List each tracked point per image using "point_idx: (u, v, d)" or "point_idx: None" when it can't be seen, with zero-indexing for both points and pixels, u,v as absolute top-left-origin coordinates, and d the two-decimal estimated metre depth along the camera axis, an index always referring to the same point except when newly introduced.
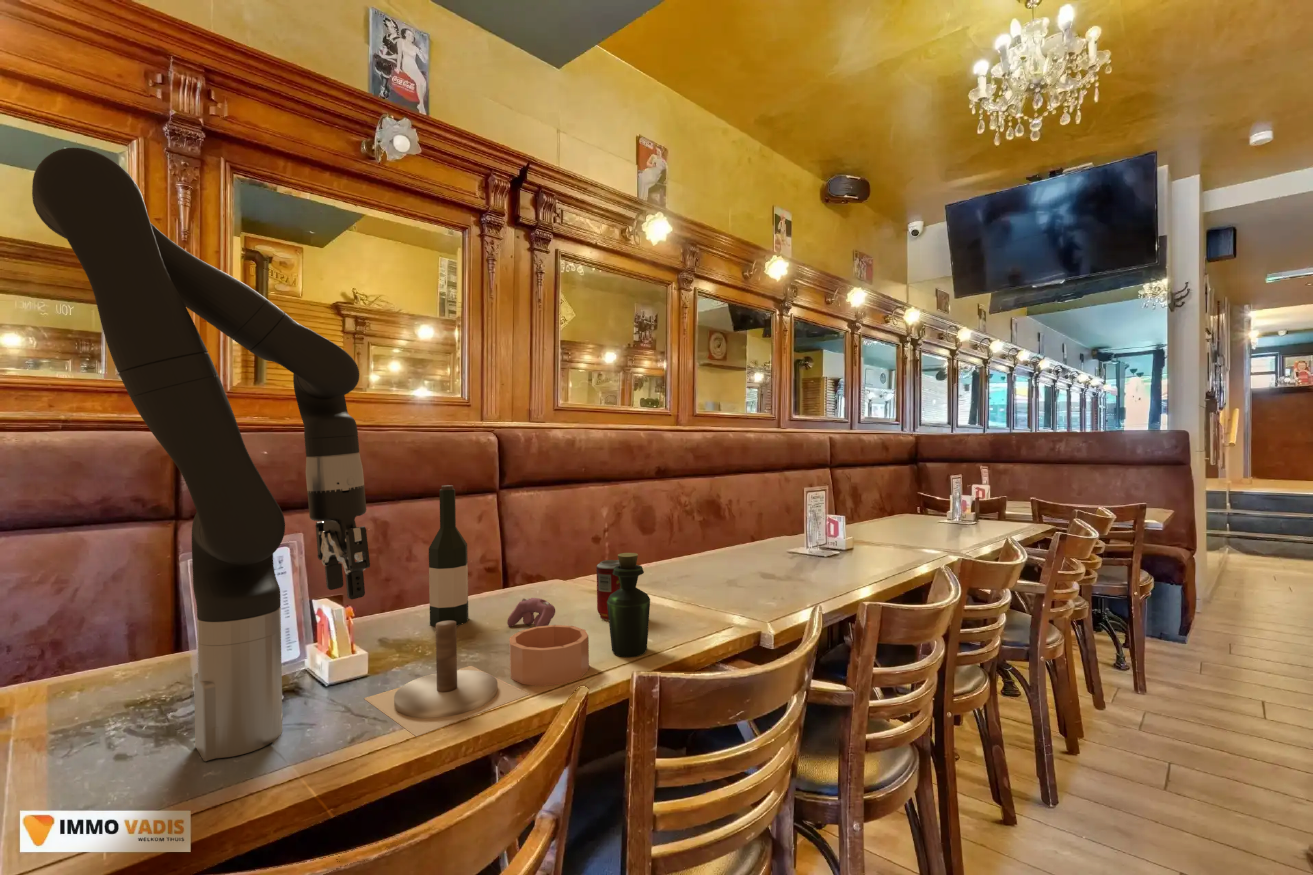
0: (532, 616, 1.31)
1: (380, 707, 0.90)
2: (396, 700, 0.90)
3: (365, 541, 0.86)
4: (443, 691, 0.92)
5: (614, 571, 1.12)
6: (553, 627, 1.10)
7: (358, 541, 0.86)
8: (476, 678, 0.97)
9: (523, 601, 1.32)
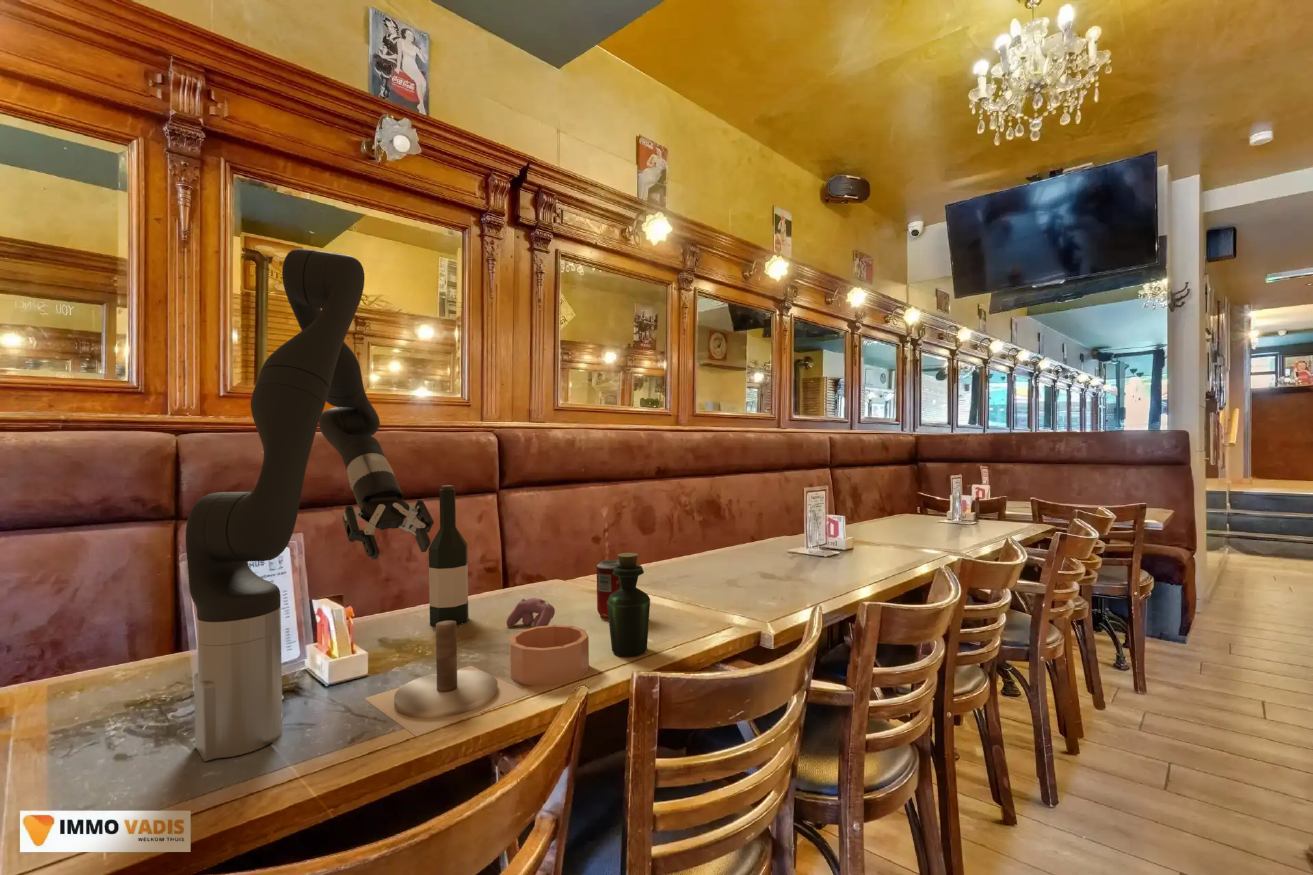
0: (531, 616, 1.31)
1: (380, 707, 0.90)
2: (396, 700, 0.90)
3: None
4: (443, 691, 0.92)
5: (614, 571, 1.12)
6: (553, 627, 1.10)
7: None
8: (476, 678, 0.97)
9: (522, 601, 1.31)
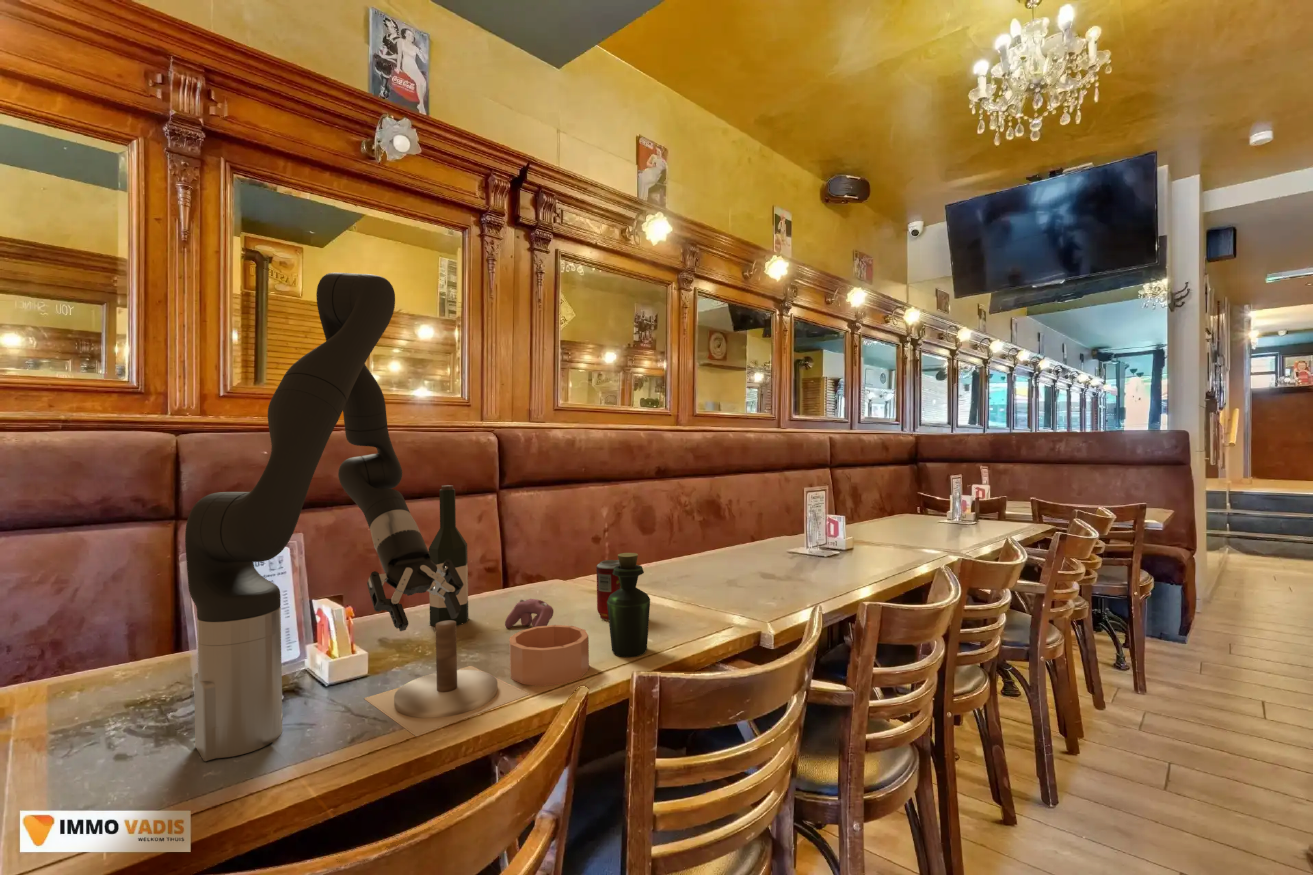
0: (530, 617, 1.30)
1: (380, 707, 0.90)
2: (396, 700, 0.90)
3: None
4: (443, 691, 0.92)
5: (614, 571, 1.12)
6: (553, 627, 1.10)
7: None
8: (476, 678, 0.97)
9: (521, 602, 1.31)
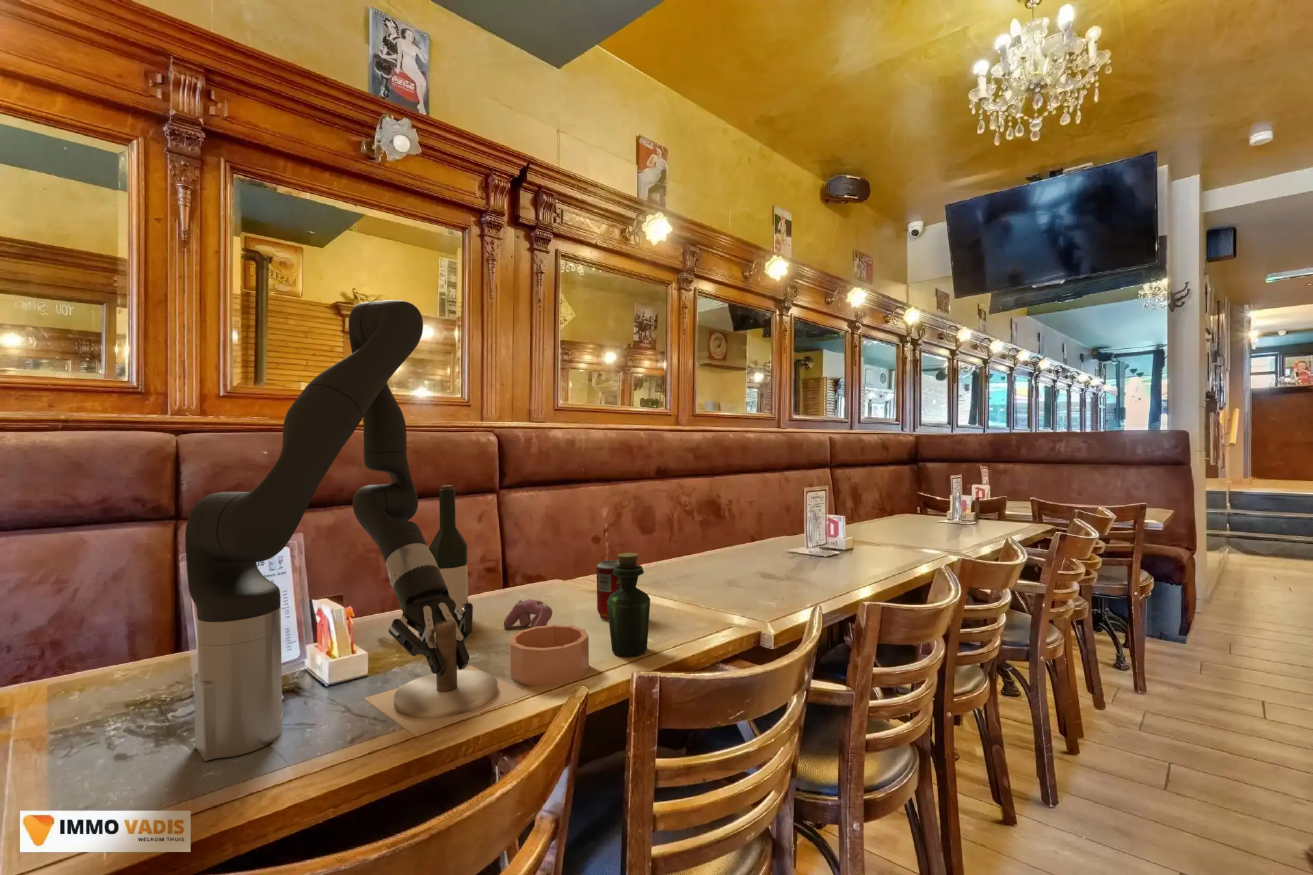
0: (529, 618, 1.30)
1: (380, 707, 0.90)
2: (396, 700, 0.89)
3: None
4: (443, 691, 0.92)
5: (614, 571, 1.12)
6: (553, 627, 1.10)
7: None
8: (476, 678, 0.97)
9: (519, 603, 1.30)
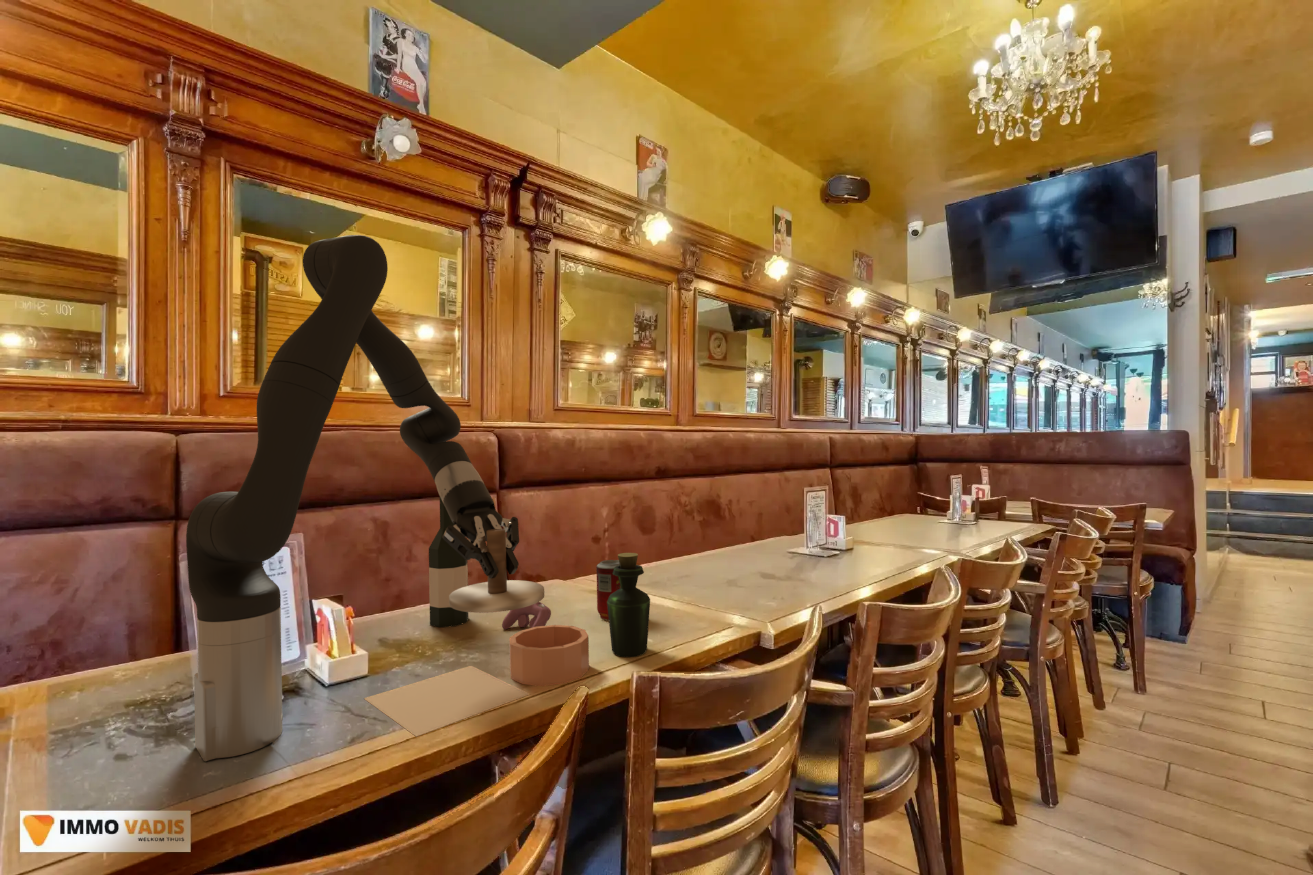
0: (527, 619, 1.29)
1: (380, 707, 0.90)
2: (452, 599, 0.95)
3: None
4: (495, 593, 0.98)
5: (614, 571, 1.12)
6: (553, 627, 1.10)
7: None
8: (523, 585, 1.03)
9: None
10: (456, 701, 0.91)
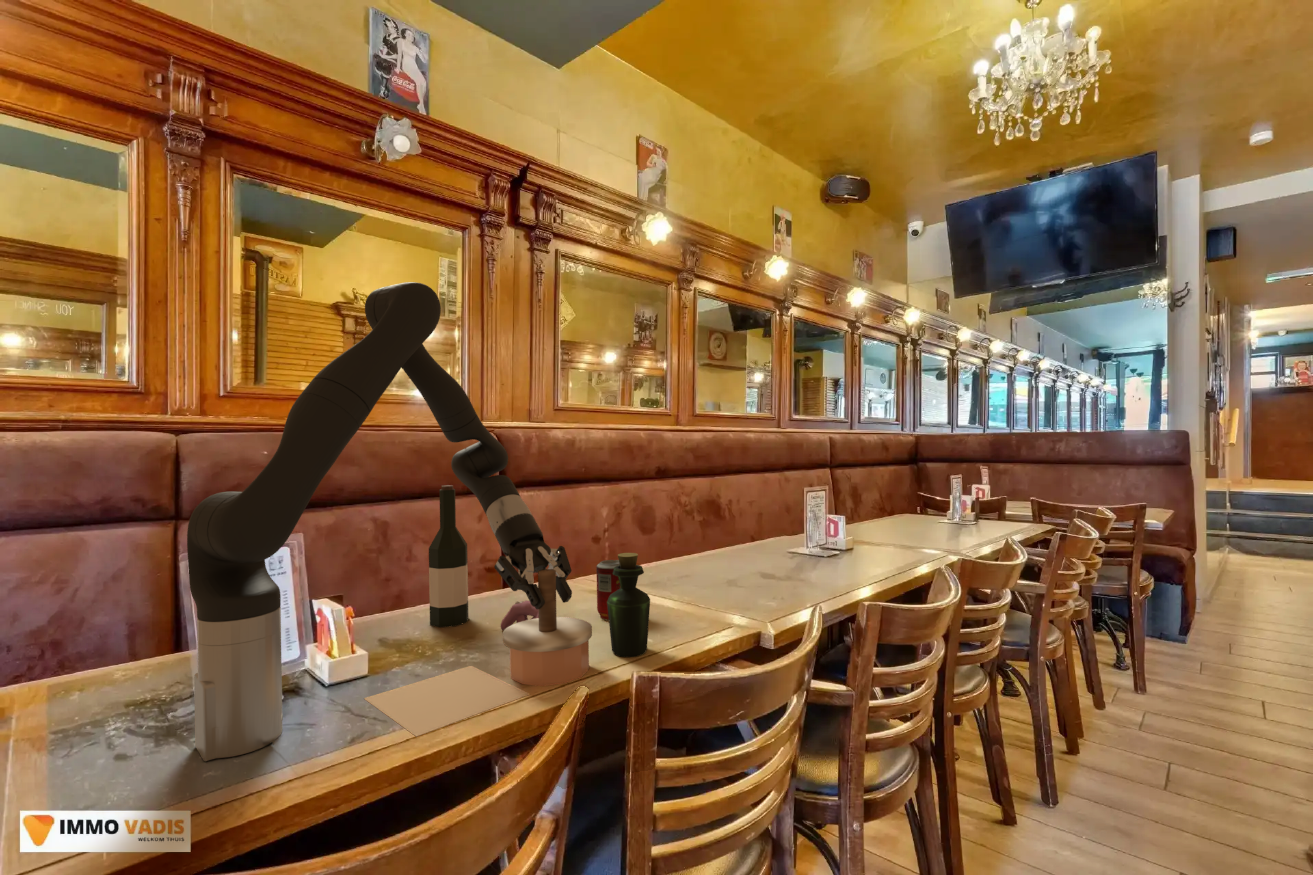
0: (526, 619, 1.29)
1: (380, 707, 0.90)
2: (506, 638, 1.00)
3: None
4: (546, 631, 1.02)
5: (614, 571, 1.12)
6: None
7: None
8: (571, 622, 1.08)
9: (517, 604, 1.29)
10: (456, 701, 0.91)
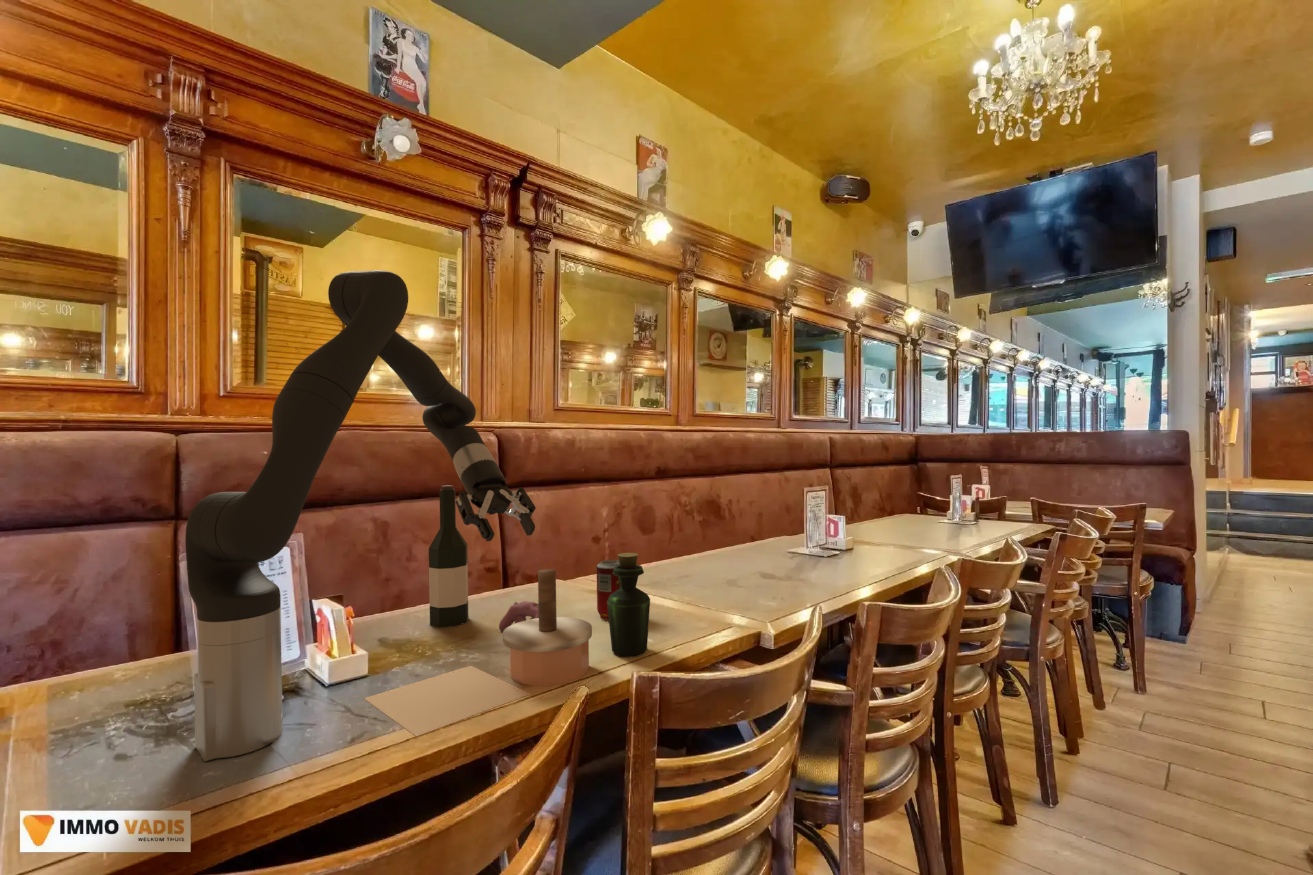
0: (524, 620, 1.28)
1: (380, 707, 0.90)
2: (506, 638, 1.00)
3: None
4: (546, 631, 1.02)
5: (614, 571, 1.12)
6: None
7: None
8: (571, 622, 1.08)
9: (515, 605, 1.29)
10: (456, 701, 0.91)
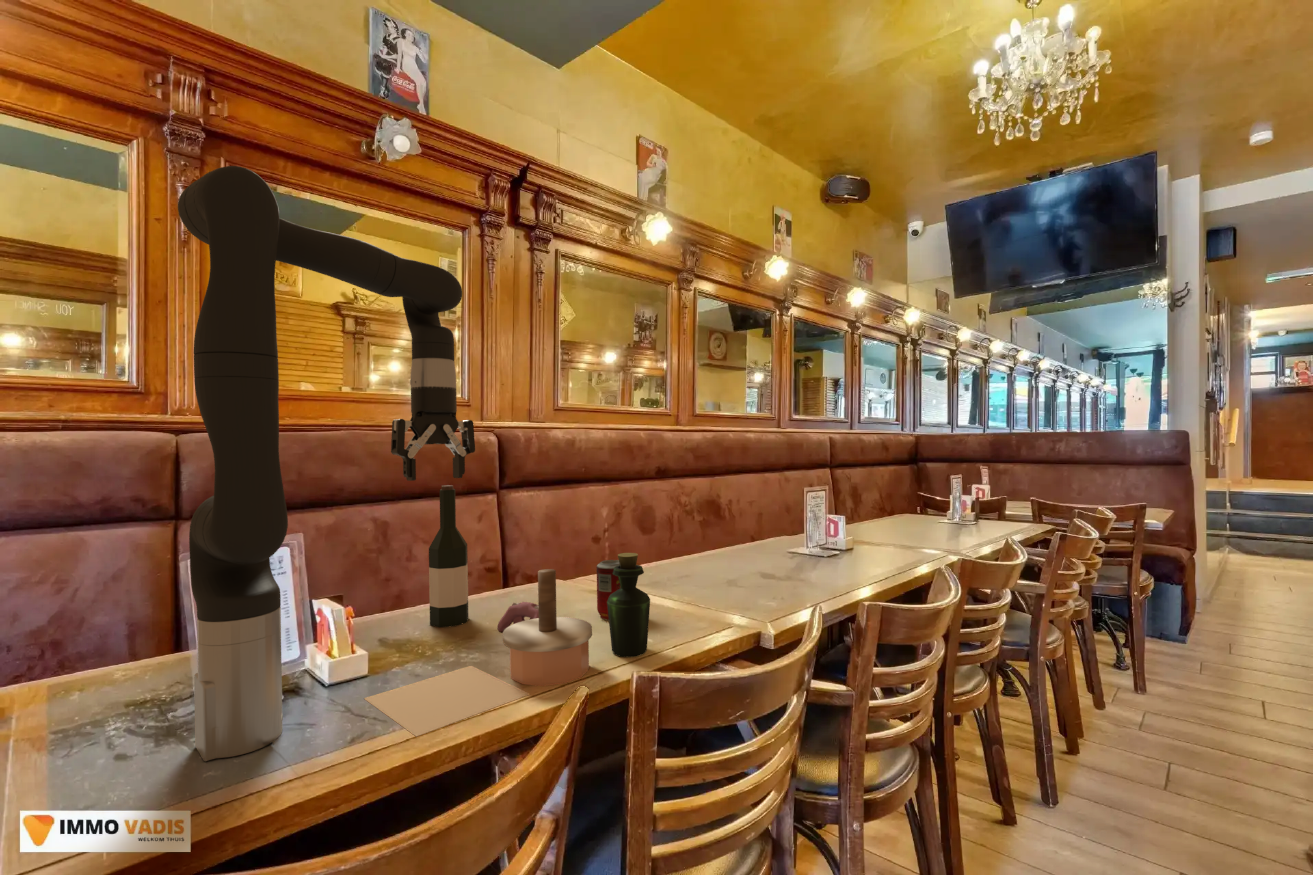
0: None
1: (380, 707, 0.90)
2: (506, 638, 1.00)
3: None
4: (546, 631, 1.02)
5: (614, 571, 1.12)
6: None
7: None
8: (571, 622, 1.08)
9: (513, 605, 1.28)
10: (456, 701, 0.91)
